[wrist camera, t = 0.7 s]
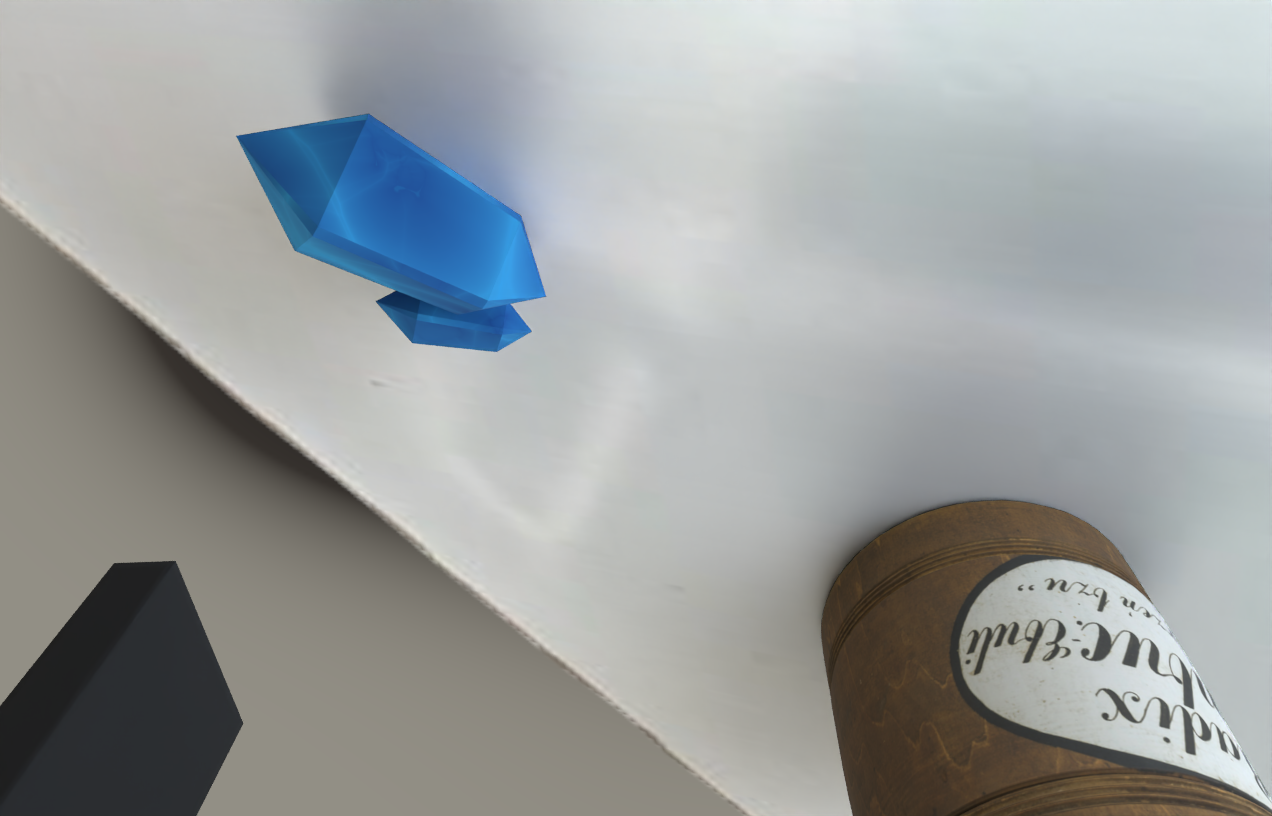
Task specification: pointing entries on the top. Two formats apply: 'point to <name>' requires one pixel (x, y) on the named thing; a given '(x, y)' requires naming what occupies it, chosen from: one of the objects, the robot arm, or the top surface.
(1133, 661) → the wooden container
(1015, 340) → the top surface
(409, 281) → the crystal
